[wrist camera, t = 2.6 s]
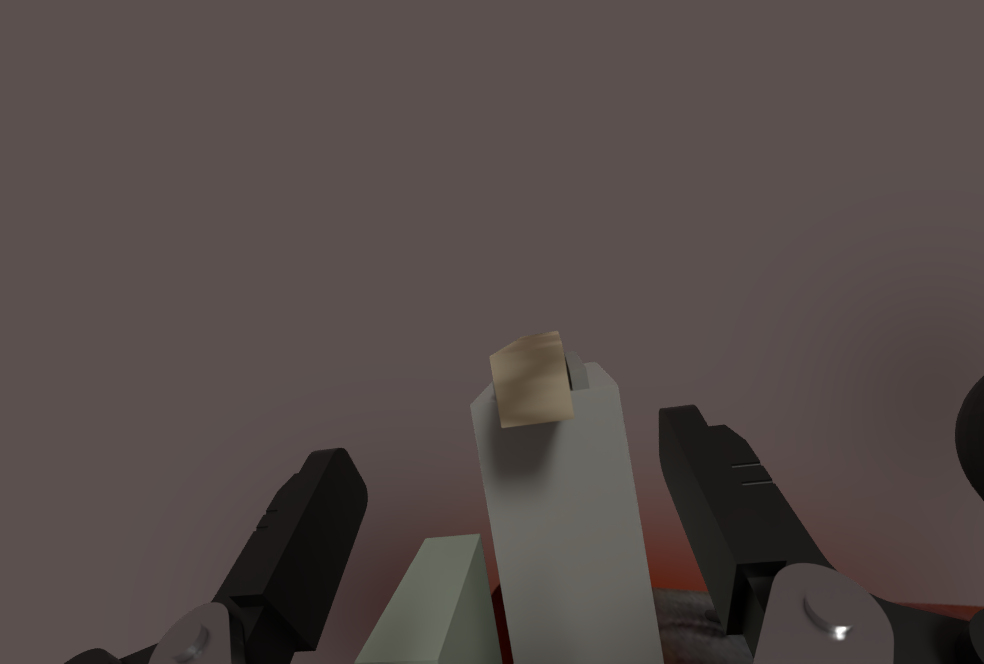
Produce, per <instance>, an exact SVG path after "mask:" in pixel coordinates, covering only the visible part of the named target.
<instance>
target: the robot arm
mask: <svg viewBox="0 0 984 664" xmlns="http://www.w3.org/2000/svg"><path fill="white" fill-rule="evenodd" d="M955 443H956V449H957V454H958V458H959V461H960V464H961V466H962V469H963V471H964V473H965V475H966V477H967V479H968V480H969V482H970V483H971V485H972V487H973V488H974V489H975V490H976V491H977V493H978V494H979V496H980V497H981V498H982V499H983V501H984V376H983V377H982V378H981V379H980V380H979V381H978V382H977V383H976V384H975V385H974V387H973V388H972V389H971V390H970V392H969V393H968V395H967V396H966V398H965V399H964V402H963V404H962V407H961V409H960V411H959V414H958V417H957V421H956V429H955ZM659 456H660V463H661V468H662V472H663V475H664V478H665V481H666V484H667V487H668V489H669V491H670V494H671V497H672V499H673V502H674V504H675V507H676V510H677V512H678V514H679V517H680V520H681V522H682V525H683V527H684V530H685V533H686V535H687V537H688V540H689V543H690V545H691V548H692V550H693V553H694V555H695V558H696V560H697V563H698V566H699V568H700V571H701V573H702V576H703V578H704V581H705V584H706V586H707V589H708V591H709V594H710V596H711V599H712V601H713V604H714V607H715V609H716V612H717V614H718V617H719V619H720V622H721V624H722V627H723V630H724V632H725V635H740V634H744V637H745V639H746V641H747V644H748V646H749V648H750V651H751V653H752V656H753V658H754V661H753V664H984V609H983V610H980V611H979V612H977V613H976V614H975V615H974V616H973V617H972V619H971V620H970V621H969V622H968V621H964V620H960V619H956V618H952V617H947V616H943V615H939V614H935V613H931V612H927V611H922V610H918V609H914V608H910V607H906V606H902V605H898V604H895V603H891V602H888V601H886V600H883V599H880V598H878V597H876V596H874V595H872V594H870V593H868V592H867V591H865V589H864V588H862V587H861V586H859V585H858V584H857V583H856V582H855V581H853V580H851V579H850V578H848V577H847V576H845V575H843V574H841V573H839V572H838V571H837V570H836V569H835V568H834V567H832V565H831V564H830V563H829V562H828V561H827V559H826V558H825V557H824V555H823V554H822V553H821V551H820V550H819V548H818V547H817V545H816V544H815V542H814V541H813V539H812V538H811V536H810V535H809V534H808V532H807V530H806V529H805V527H804V526H803V525H802V523H801V521H800V520H799V519H798V517H797V516H796V514H795V513H794V511H793V510H792V508H791V507H790V505H789V504H788V502H787V501H786V499H785V498H784V496H783V495H782V493H781V492H780V490H779V489H778V487H777V486H776V484H773V482H772V478H771V477H770V475H769V474H768V472H767V471H766V469H765V468H764V466H761V464H760V460H759V459H758V457H757V456H756V454H755V453H754V451H753V450H752V448H751V447H750V446H749V444H748V443H747V441H746V440H745V439H743V438H742V437H740V436H739V435H738V434H737V433H735V432H734V431H733V430H731V429H730V428H728V427H727V426H726V425H718V426H708V425H707V423H706V422H705V420H704V418H703V416H702V415H701V413H700V411H699V410H698V408H697V407H696V406H695V405H685V406H678V407H670V408H662V409H660V410H659ZM367 502H368V494H367V488H366V485H365V483H364V481H363V479H362V477H361V476H360V474H359V472H358V471H357V468H356V467H355V465H354V463H353V461H352V460H351V458H350V456H349V454H348V452H347V451H346V450H345V449H344V448H335V449H327V450H318V451H314V452H312V453H311V454H310V455H309V456H308V458H307V460H306V461H305V463H304V465H303V467H302V468H301V470H300V472H299V473H297V474H294V475H293V476H292V477H291V478H290V479H289V480H288V481H287V483H285V485H283V486H282V487H281V489H280V490H279V491H278V492H277V494H276V495H275V497H274V498H273V500H272V502H271V503H270V505H269V507H268V508H267V510H266V515H263V517H262V519H261V520H260V522H259V524H258V525H257V527H256V528H257V530H256V531H254V532H253V534H252V535H251V537H250V539H249V540H248V542H247V544H246V545H245V547H244V549H243V550H242V552H241V554H240V555H239V557H238V559H237V560H236V562H235V564H234V566H233V567H232V569H231V570H230V572H229V574H228V575H227V577H226V579H225V580H224V582H223V584H222V585H221V587H220V589H219V590H218V592H217V594H216V595H215V597H214V598H213V600H212V601H211V603H207V604H204V605H201V606H199V607H197V608H195V609H193V610H192V611H190V612H189V613H187V614H186V615H184V616H183V617H182V618H181V619H180V620H178V621H177V622H176V623H175V624H174V625H173V626H172V627H171V628H170V629H169V630H168V632H167V633H166V634H165V635H164V636H163V638H162V639H161V641H160V642H159V643H157V644H155V645H152V646H150V647H148V648H145V649H143V650H140V651H138V652H136V653H133V654H131V655H128V656H126V657H124V658H121V659H117V658H116V657H114V656H113V655H111V654H110V653H108V652H107V651H105V650H103V649H100V648H99V649H98V648H97V649H96V648H95V649H91V650H88V651H85V652H83V653H81V654H79V655H77V656H75V657H73V658H72V659H70V660H69V661H67V662H66V663H64V664H290V663H291V660H292V657H293V655H294V652H300V651H315V650H316V648H317V645H318V642H319V639H320V637H321V634H322V631H323V628H324V625H325V622H326V620H327V617H328V614H329V611H330V609H331V606H332V603H333V600H334V597H335V595H336V592H337V589H338V586H339V583H340V581H341V578H342V575H343V572H344V569H345V567H346V564H347V561H348V558H349V556H350V553H351V550H352V547H353V544H354V542H355V539H356V536H357V533H358V530H359V527H360V525H361V522H362V519H363V516H364V514H365V511H366V507H367Z"/></svg>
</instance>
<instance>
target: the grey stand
mask: <svg viewBox="0 0 984 664" xmlns="http://www.w3.org/2000/svg"><path fill="white" fill-rule="evenodd" d="M564 355H565V361H566V370H567V376H568V382H569V388H570V394H571V400H572V406H573V412H574V418H575V419H569V420H561V421H553V422H545V423H538V424H530V425H522V426H514V427H507V428H502V427H501V421H500V415H499V410H498V404H497V398H496V392H495V386H494V380H493V382H492V383H491V384H490V385H489V386H488V387H487V388H486V389H485V390H484V391H483V392H482V393H481V394H480V395H479V396H478V397H477V398H476V400H475V401H474V402H473V403H472V404H471V405H470V408H471V413H472V419H473V425H474V431H475V436H476V443H477V449H478V455H479V460H480V466H481V472H482V478H483V484H484V490H485V496H486V502H487V507H488V514H489V519H490V525H491V531H492V537H493V543H494V549H495V554H496V561H497V566H498V572H499V578H500V584H501V590H502V596H503V602H504V608H505V614H506V620H507V625H508V631H509V637H510V643H511V649H512V655H513V661H514V664H664V661H663V655H662V648H661V642H660V636H659V630H658V624H657V618H656V612H655V606H654V600H653V594H652V588H651V582H650V576H649V570H648V564H647V558H646V552H645V546H644V540H643V534H642V528H641V522H640V516H639V510H638V504H637V498H636V492H635V486H634V480H633V474H632V467H631V461H630V456H629V449H628V443H627V437H626V432H625V426H624V419H623V413H622V408H621V401H620V395H619V389H618V385H617V383H616V382H615V381H614V380H613V379H612V378H611V377H610V376H609V375H608V374H607V373H606V372H605V371H604V370H603V369H602V368H601V367H600V366H599V365H598V363H597V362H591V363H584V364H583V362H582V361H581V359H580V358H579V356H578V355H577V353H576V352H575V351H572V352H566V353H564Z"/></svg>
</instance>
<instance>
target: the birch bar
mask: <svg viewBox="0 0 984 664" xmlns="http://www.w3.org/2000/svg"><path fill="white" fill-rule="evenodd" d="M490 362H491V367H492V373H493V380H494V386H495V392H496V398H497V404H498V410H499V415H500V421H501V427H502V428H507V427H514V426H522V425H530V424H538V423H545V422H553V421H561V420H569V419H575V418H574V412H573V406H572V400H571V394H570V388H569V382H568V376H567V370H566V364H565V358H564V352H563V346H562V343H561V339H560V336H559V333H558V331H553V332H548V333H541V334H535V335H530V336H523V337H521V338H519V339H517V340H516V341H514V342H513V343H511V344H509V345H508V346H506V347H505V348H503V349H501V350H499V351H498V352H496V353H495V354H493V355H491V356H490Z"/></svg>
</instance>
